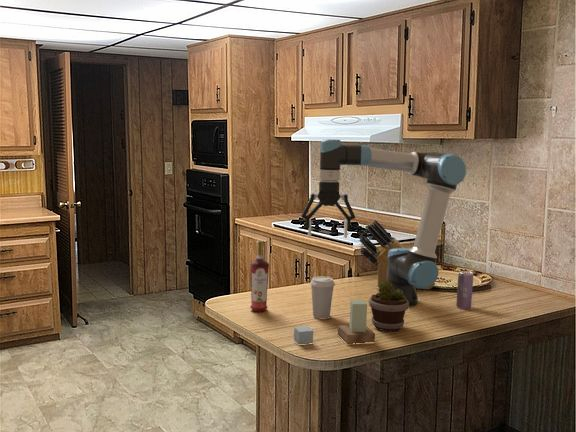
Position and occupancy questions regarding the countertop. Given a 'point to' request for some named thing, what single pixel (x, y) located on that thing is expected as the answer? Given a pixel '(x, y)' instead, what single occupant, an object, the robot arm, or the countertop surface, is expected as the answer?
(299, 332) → the blue-grey cube
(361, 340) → the walnut block
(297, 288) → the countertop surface
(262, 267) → the liquor
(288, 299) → the countertop surface
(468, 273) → the beverage can
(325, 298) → the coffee cup
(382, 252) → the knife block
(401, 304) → the flowerpot
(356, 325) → the sage block
